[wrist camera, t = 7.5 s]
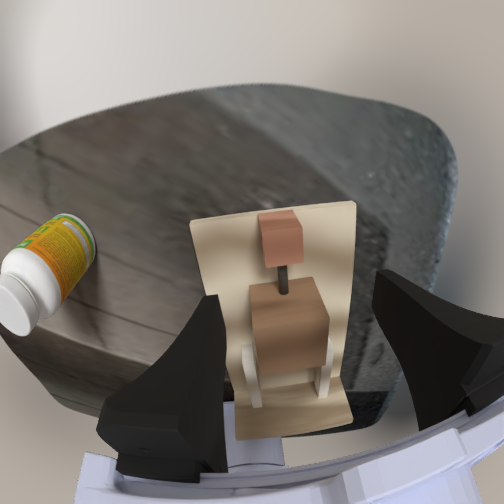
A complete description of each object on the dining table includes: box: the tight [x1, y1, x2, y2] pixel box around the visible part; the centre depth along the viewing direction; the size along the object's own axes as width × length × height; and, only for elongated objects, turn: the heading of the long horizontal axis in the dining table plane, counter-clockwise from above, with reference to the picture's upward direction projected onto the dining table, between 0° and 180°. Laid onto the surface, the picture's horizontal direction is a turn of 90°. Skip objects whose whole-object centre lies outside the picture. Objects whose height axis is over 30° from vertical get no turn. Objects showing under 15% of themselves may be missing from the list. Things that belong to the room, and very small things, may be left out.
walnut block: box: [249, 209, 330, 376], centre depth 19 cm, size 11×5×5 cm, turn 7°
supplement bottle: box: [0, 214, 95, 336], centre depth 16 cm, size 5×5×10 cm
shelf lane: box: [189, 201, 356, 441], centre depth 22 cm, size 21×12×7 cm, turn 7°
